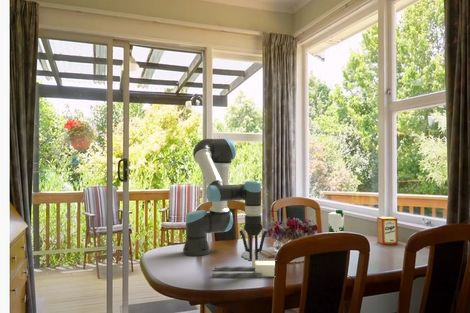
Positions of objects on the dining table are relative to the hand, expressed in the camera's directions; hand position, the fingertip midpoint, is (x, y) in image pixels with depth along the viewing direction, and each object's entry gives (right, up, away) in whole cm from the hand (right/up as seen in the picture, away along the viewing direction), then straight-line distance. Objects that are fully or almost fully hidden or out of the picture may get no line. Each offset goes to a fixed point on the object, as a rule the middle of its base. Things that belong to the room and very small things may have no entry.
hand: (253, 266), depth 163 cm
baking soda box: (+86, -4, +59) cm, 104 cm away
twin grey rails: (-7, -3, +1) cm, 8 cm away
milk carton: (+56, -4, +65) cm, 86 cm away
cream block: (+6, -3, -1) cm, 6 cm away
